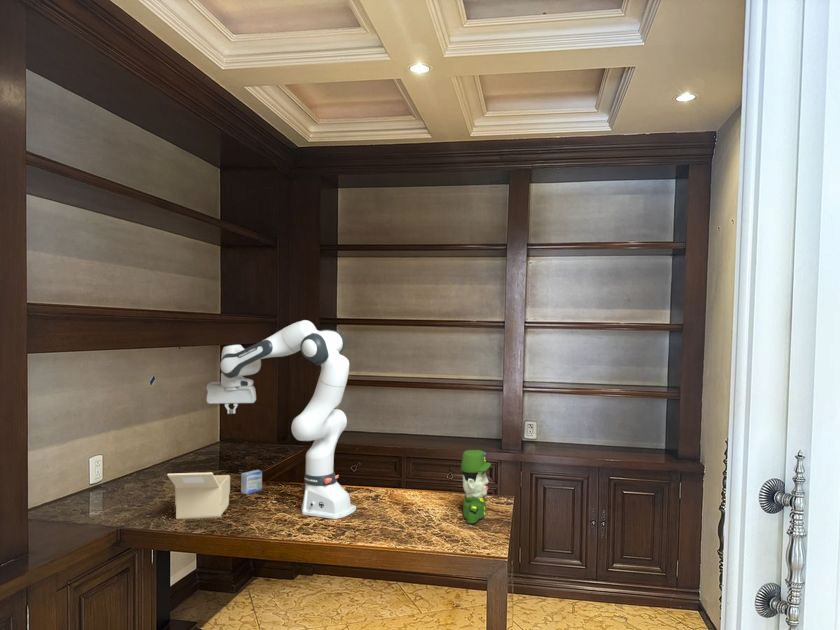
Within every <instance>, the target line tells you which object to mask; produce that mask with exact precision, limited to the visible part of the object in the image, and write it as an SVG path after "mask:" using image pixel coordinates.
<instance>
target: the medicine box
mask: <svg viewBox="0 0 840 630" xmlns="http://www.w3.org/2000/svg"><path fill="white" fill-rule="evenodd" d="M240 477H241V478H240V483H241V484H240V492H241V494H244V495H251V494H253V493H257V492H260V491H263V471H262V470H260V469H253V470H250V471H246V472H241V474H240Z"/></svg>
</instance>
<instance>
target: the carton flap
mask: <svg viewBox="0 0 840 630" xmlns="http://www.w3.org/2000/svg"><path fill="white" fill-rule="evenodd" d="M167 477H168V478H169V480H170V481H171V482H172V484H173V485H174V487H176V488H205V487H219V484H218V482H217V480H216V478H215V477H214V473H213V472H212V471H211V472H186V473H185V472H181V473H180V472H179V473H167Z"/></svg>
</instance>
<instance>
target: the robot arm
mask: <svg viewBox="0 0 840 630" xmlns="http://www.w3.org/2000/svg"><path fill="white" fill-rule="evenodd" d="M345 347H346V337H345V336H344V335H343V333H342V332H340V331H338V330H333V329H325V328H323V329H321V330H318V329H317V327H316V326H315V324H314V323H313V322H312V321H310V320H308V319H307V320H306V319H303V320H300V321H296V322H294V323H291V324H290V325H288V326H285V327H284V328H282V329H280V330H278V331H276V332H275V333H274V334H272V335H270V336H268V337H267V338H265V339H262V340H261V341H259V342H257V343H255V344H252V345H250V346H248V347H246V348H244V347H243V346H242V345H241V344H240V343H239V344H238V343H236V344H235V343H234V344H228V345H225V346H223V348H222V351H221V357H220V358H221V359H220V362H219V369H220V372H221V373H220V381H210V382H209V383H207V384H206V391H207V394H206V403H207V404H211V405H212V404H213V405H214V404H216V405H217V404H224V407H225V409H226V410H227V415H234V414H236V410H237V408H238V406H239V404H255V402H256V401H257V393H256V387H255V386H254V380H253V379H250V378H247V377H244V376H251V375H254V374H258V373H259V372H260V370H261V368H262V359H270V358H279V357H281V358H282V357H287V356H290V355H293V354H296V353H298V352H299V351H300V352H301V354H302V356H303V357H304V358H306V359H307V360H309V361H311V362H312V363H313V364H314V365H316V366H320V367H321V369H320V374H319V377H318V380H317V384H316V387H315V390H314V393H313V395H312V397H311V399H310V400H309V402H308V404H307V405H306V406H305V408H304V409H303V410H302V412H301V413H300V414H298V415H297V416H296V417H294V418H293V420H292V422H291V426H290V427H291V433H292V436H293V437H294V439H296V440H297V441H299V442H300V441H301V442H311V441H313V443H312V445H311V447H309V449H308V450H307V452H306V454H305V472H304V483H305V484H304V493H303V500H302V504H301V509H300V510H301V514H302V515H305V516H311V517H317V518H326V519H332V520H336V519H337V520H338V519H341V518H344V517H347V516H349V515H352V514H353V513H354V512H356V510H357V505H354V504H351V497H350V494H349V492H348V491H347V490H346V489H345V488H343V486H341V484H340V483H339V482H338V479H339V478H340V477H339V474H337V475H336V473H335V470H334V466H335V465H334V459H335V450H336V447H337V443H338V440H339V438H340V436H341V434H342V433H343V432H344V431H345V430H346V428H347V426H348V425H347V423H348V419H347V416H346V414H345V412H344V411H343V410H341V409H336V408H337V407H338V406H339V405H340V404H341V402H342V400H343V397H344V392H345V389H346V386H347V382H348V377H349V375H350V374H349V372H350V361H349V359H348V358H347V357H346V356H344V355H343V354H341V353H342V352H343V351H344V350H345ZM230 404H233V408H230Z"/></svg>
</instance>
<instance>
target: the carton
mask: <svg viewBox="0 0 840 630" xmlns="http://www.w3.org/2000/svg"><path fill="white" fill-rule="evenodd" d="M213 475H214V474H213ZM214 477H215V478H216V480H217V482H218V484H219V487H205V488H176V486H174V487H175V489H174V490H175V491H174V492H175V494H174V495H175V496H174V497H175V499H174V500H175V503H174V504H175V505H174V506H175V508H176V509H175V519H176V520H189V519H213V518H215V519H216V518H219V519H220V518H221V516H223V513H224V512H225V511H226V510H227V508H228V506H229V505H230V493H231V475H229V474H221V475H220V474H219V475H218V474H216V475H214Z"/></svg>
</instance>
